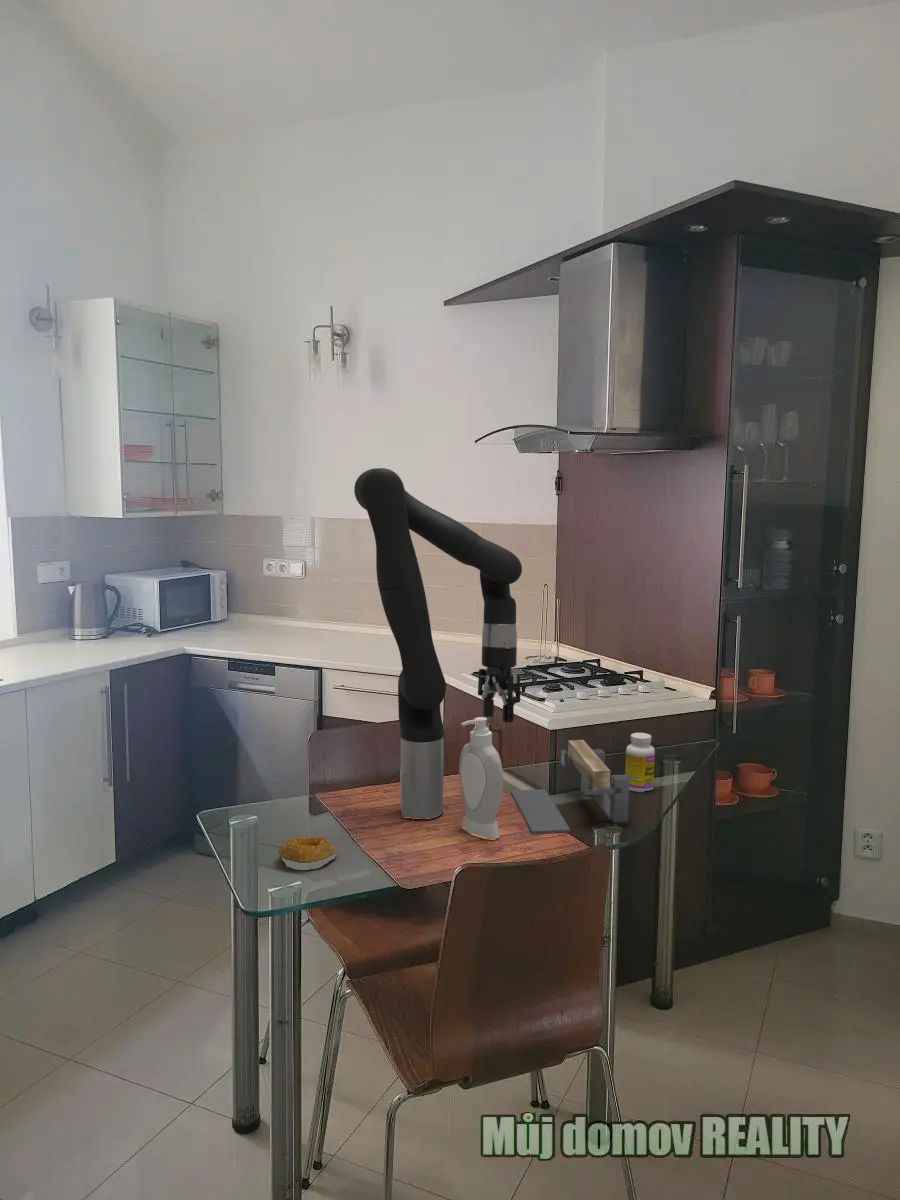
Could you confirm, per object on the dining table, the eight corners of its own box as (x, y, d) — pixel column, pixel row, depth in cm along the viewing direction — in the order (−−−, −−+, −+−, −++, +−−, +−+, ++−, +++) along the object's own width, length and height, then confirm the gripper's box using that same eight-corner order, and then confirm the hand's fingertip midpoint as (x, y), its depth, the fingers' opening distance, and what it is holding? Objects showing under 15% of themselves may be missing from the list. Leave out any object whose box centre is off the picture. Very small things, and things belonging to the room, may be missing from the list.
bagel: (340, 868, 172) (340, 844, 172) (281, 876, 169) (280, 852, 169) (332, 848, 182) (331, 825, 181) (276, 855, 179) (275, 832, 178)
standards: (583, 826, 192) (584, 780, 191) (560, 792, 213) (561, 749, 211) (627, 825, 193) (629, 778, 192) (600, 790, 214) (601, 748, 212)
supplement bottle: (646, 795, 211) (647, 741, 209) (619, 789, 215) (621, 736, 213) (658, 787, 216) (660, 734, 214) (632, 781, 220) (634, 729, 218)
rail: (593, 789, 191) (593, 771, 190) (568, 757, 212) (568, 740, 212) (609, 789, 191) (610, 770, 190) (582, 756, 213) (583, 739, 212)
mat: (532, 833, 188) (532, 831, 188) (511, 793, 212) (511, 790, 212) (570, 832, 189) (570, 829, 189) (545, 791, 213) (545, 789, 213)
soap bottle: (441, 829, 190) (441, 715, 187) (469, 820, 195) (469, 709, 192) (483, 849, 181) (484, 729, 177) (511, 839, 186) (512, 722, 182)
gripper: (468, 642, 202) (467, 715, 203) (500, 647, 190) (499, 725, 190) (498, 642, 206) (496, 714, 206) (531, 646, 193) (530, 723, 193)
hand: (498, 719), depth 198 cm, fingers open, 8 cm apart
